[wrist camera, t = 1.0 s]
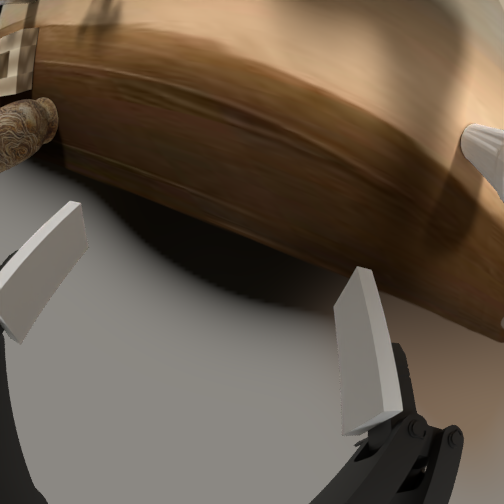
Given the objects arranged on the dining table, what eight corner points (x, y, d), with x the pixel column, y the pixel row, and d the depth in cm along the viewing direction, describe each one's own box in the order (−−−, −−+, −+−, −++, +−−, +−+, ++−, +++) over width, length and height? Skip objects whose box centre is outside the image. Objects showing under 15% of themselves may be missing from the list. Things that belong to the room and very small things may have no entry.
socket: (5, 40, 20) (-10, 42, 17) (39, 27, 21) (23, 28, 18) (0, 93, 28) (-14, 99, 25) (31, 89, 28) (15, 93, 25)
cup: (484, 179, 31) (531, 222, 20) (442, 161, 31) (492, 203, 21) (500, 125, 25) (555, 156, 14) (458, 100, 25) (518, 123, 14)
